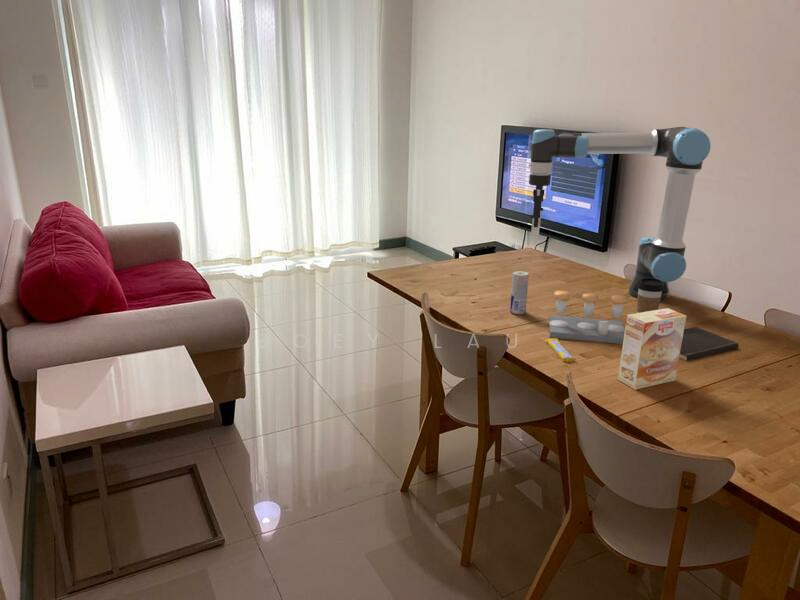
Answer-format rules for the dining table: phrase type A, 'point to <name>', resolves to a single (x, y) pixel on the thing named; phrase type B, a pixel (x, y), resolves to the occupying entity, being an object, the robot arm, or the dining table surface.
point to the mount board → (585, 329)
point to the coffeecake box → (651, 348)
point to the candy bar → (560, 350)
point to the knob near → (618, 305)
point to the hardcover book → (703, 344)
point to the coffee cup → (649, 294)
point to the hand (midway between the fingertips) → (535, 231)
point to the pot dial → (603, 328)
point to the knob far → (561, 300)
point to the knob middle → (589, 303)
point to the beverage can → (519, 292)
